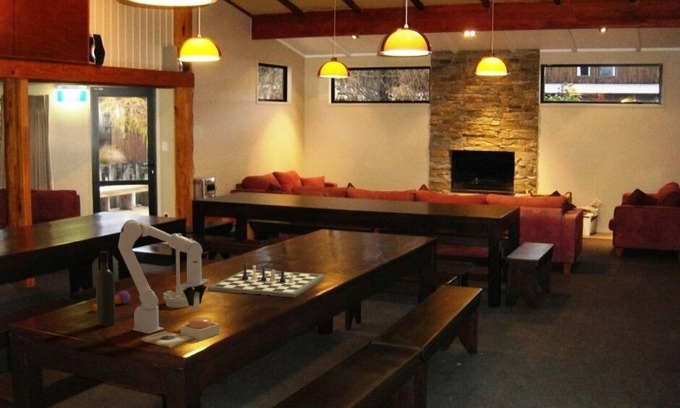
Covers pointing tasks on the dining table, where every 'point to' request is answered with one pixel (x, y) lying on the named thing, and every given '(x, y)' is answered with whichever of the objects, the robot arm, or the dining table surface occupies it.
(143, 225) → the robot arm
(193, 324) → the orange dome
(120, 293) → the kendama
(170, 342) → the board
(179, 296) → the flag stand
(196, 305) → the jar with green lid
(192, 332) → the open square beige box
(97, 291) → the wine bottle
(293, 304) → the dining table surface
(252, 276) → the chess set
